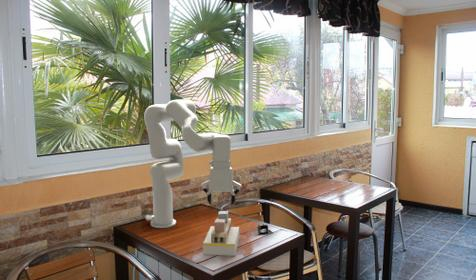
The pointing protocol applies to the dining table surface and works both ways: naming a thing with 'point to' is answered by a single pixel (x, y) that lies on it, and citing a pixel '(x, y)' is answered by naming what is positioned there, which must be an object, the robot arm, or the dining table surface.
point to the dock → (221, 247)
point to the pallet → (221, 233)
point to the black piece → (262, 232)
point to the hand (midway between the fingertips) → (221, 203)
